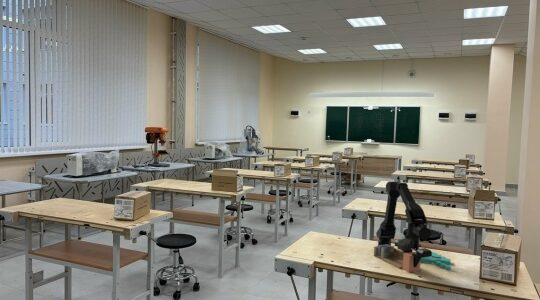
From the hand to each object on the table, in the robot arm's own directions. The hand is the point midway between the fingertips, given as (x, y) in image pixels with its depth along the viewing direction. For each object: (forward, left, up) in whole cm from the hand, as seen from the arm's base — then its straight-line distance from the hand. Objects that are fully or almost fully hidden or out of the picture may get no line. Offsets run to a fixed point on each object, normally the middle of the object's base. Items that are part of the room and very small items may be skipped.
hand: (411, 265), depth 187 cm
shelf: (0, -12, -2) cm, 13 cm away
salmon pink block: (0, 0, -2) cm, 2 cm away
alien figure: (-19, -7, -3) cm, 20 cm away
